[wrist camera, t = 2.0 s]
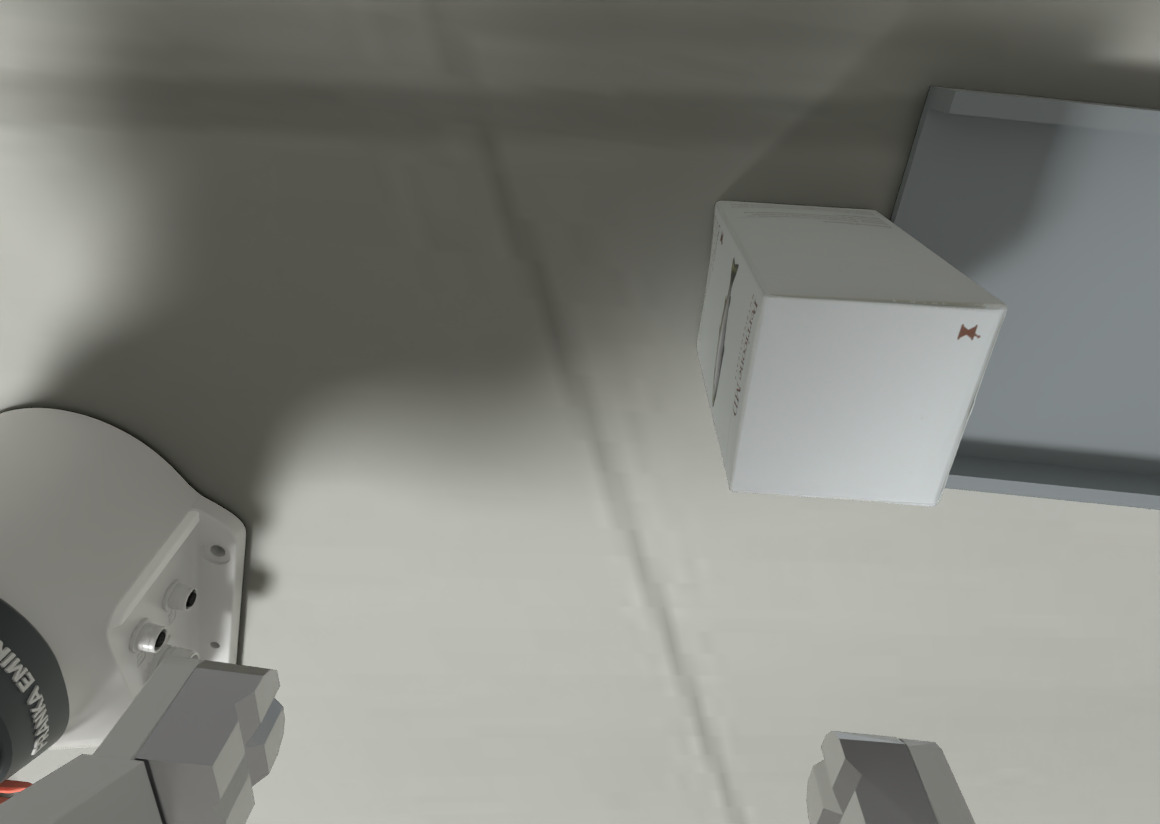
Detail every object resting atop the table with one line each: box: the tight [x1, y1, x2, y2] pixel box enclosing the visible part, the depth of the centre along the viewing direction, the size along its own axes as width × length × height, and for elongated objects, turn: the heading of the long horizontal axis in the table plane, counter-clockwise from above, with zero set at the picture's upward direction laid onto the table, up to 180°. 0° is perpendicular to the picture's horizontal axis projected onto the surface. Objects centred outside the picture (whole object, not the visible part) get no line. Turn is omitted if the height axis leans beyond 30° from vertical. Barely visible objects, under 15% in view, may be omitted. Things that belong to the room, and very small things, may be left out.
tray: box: [890, 86, 1160, 510], centre depth 32 cm, size 18×22×2 cm
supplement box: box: [696, 201, 1007, 507], centre depth 28 cm, size 7×7×13 cm
